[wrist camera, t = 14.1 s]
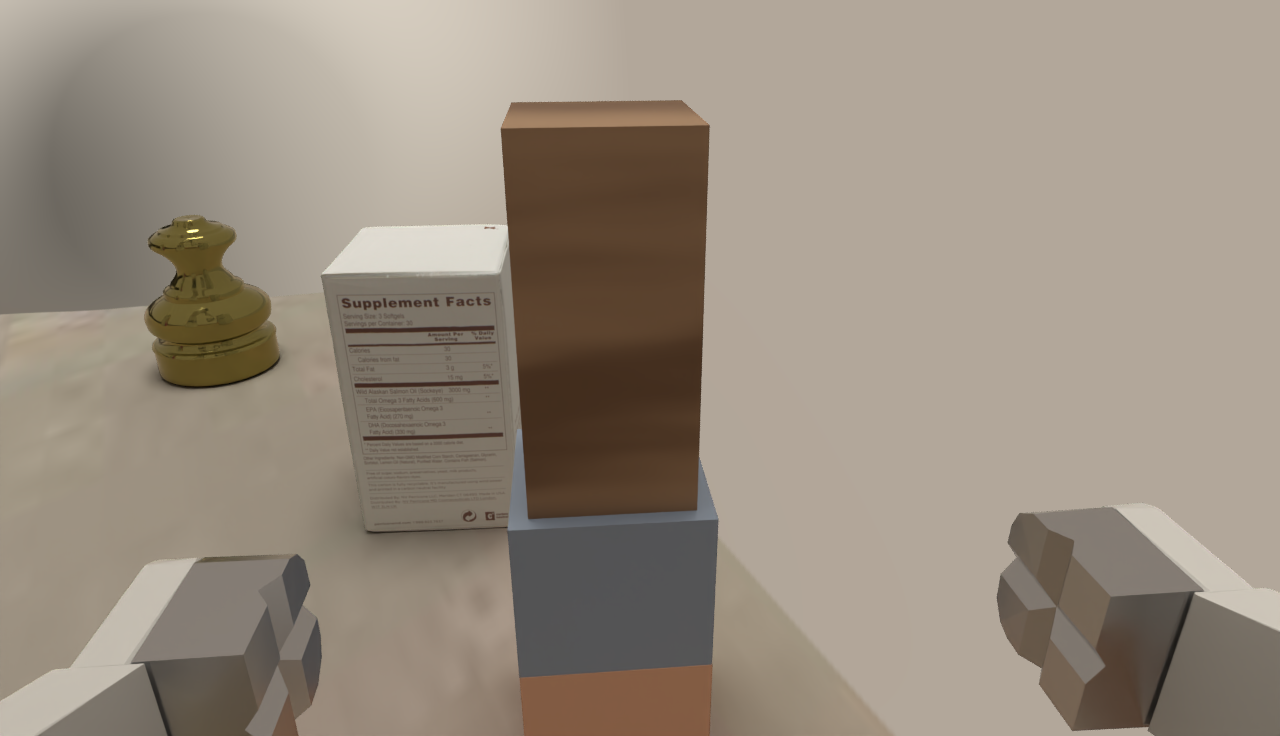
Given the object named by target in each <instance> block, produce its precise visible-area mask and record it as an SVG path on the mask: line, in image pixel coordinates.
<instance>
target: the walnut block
mask: <svg viewBox="0 0 1280 736" xmlns="http://www.w3.org/2000/svg"><path fill="white" fill-rule="evenodd" d="M709 127H710V126H709V124H708V123H706V122H705V121H704V120H703V119H702V118H701V117H700V116H698V115H697V114H696V113H695V112H694V111H693V110H692V109H691V108H689V107H688V106H687V105H686V104H685V103H684V102H683V101H682V100H674V101H601V102H600V101H597V102H517V103H511V105H510V108H509V110H508V113H507V115H506V117H505V120H504V122H503V124H502V127H501V137H502V152H503V167H504V181H505V194H506V210H507V224H508V239H509V253H510V267H511V282H512V296H513V310H514V325H515V339H516V354H517V368H518V382H519V397H520V411H521V426H522V440H523V454H524V469H525V483H526V498H527V512H528V519H542V518H561V517H580V516H599V515H618V514H637V513H656V512H675V511H694V510H697V500H698V469H699V438H700V406H701V404H700V403H701V376H702V345H703V314H704V280H705V251H706V220H707V219H706V218H707V187H708V156H709Z"/></svg>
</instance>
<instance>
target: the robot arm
mask: <svg viewBox="0 0 1280 736" xmlns="http://www.w3.org/2000/svg"><path fill="white" fill-rule="evenodd" d="M1008 544H1009V545H1010V547H1011V549H1012V551H1013V552H1014V554H1015V555H1016V557H1017V558H1016V559H1015V560H1014V561H1013V562H1012V563H1011V564H1010V565H1009V566H1008V567H1007V568H1006V569H1005V570H1004V571H1003V572H1002V573H1001V576H1000V582H999V588H998V593H997V602H998V609H999V616H1000V622H1001V624H1002V627H1003V629H1004V632H1005V634H1006V636H1007V639H1008V640H1009V641H1010V643H1011V644H1012V646H1013V647H1014V649H1015V650H1016V652H1017V653H1018V655H1020V656H1022V657H1024V658H1025V659H1027V660H1028V661H1030V662H1032V663H1034V664H1035V665H1037V666H1039V667H1040V668H1042V669H1041V675H1040V681H1039V685H1040V686H1041V688H1042V689H1043V690H1044V692H1045V693H1046V695H1047V696H1048V697H1049V699H1050V700H1051V701H1052V703H1053V704H1054V706H1055V707H1056V709H1057V710H1058V712H1059V713H1060V714H1061V716H1062V717H1063V718H1064V720H1065V721H1066V723H1067V724H1068V726H1069V727H1070V728H1071V730H1072V731H1081V730H1100V729H1119V728H1139V727H1149V728H1148V731H1149V732H1150V733H1152V734H1153V735H1154V736H1280V593H1279V592H1276V591H1274V590H1272V589H1269V588H1257V589H1254V588H1253V587H1252V586H1250V585H1249V584H1248V583H1247V582H1246V581H1244V580H1243V579H1242V578H1241V577H1240V576H1239V575H1237V574H1236V573H1235V572H1234V571H1233V570H1231V569H1230V568H1229V567H1228V566H1227V565H1225V564H1224V563H1223V562H1222V561H1221V560H1220V559H1218V558H1217V557H1216V556H1215V555H1213V554H1212V553H1211V552H1210V551H1209V550H1208V549H1207V548H1205V547H1204V546H1203V545H1202V544H1200V543H1199V542H1198V541H1197V540H1196V539H1195V538H1193V537H1192V536H1191V535H1190V534H1189V533H1188V532H1186V531H1185V530H1184V529H1183V528H1181V527H1180V526H1179V525H1178V524H1177V523H1176V522H1174V521H1173V520H1172V519H1171V518H1170V517H1169V516H1167V515H1166V514H1165V513H1164V512H1163V511H1161V510H1160V509H1159V508H1157V507H1154V506H1152V505H1149V504H1146V503H1136V504H1126V505H1115V506H1103V507H1101V508H1090V509H1076V510H1061V511H1047V512H1031V513H1020V514H1019V515H1018V516H1017V518H1016V520H1015V521H1014V522H1013V524H1012V526H1011V531H1010V535H1009V539H1008ZM309 587H310V582H309V578H308V574H307V570H306V566H305V562H304V560H303V559H302V558H301V557H300V556H299V555H297V554H284V555H257V556H230V557H205V558H203V559H201V558H185V559H167V560H156V561H153V562H151V563H149V564H147V565H145V566H144V567H143V568H142V569H141V571H140V572H139V573H138V575H137V576H136V578H135V579H134V580H133V582H132V583H131V584H130V586H129V587H128V588H127V590H126V591H125V593H124V594H123V595H122V597H121V598H120V599H119V601H118V602H117V604H116V605H115V606H114V608H113V609H112V610H111V612H110V613H109V614H108V616H107V617H106V619H105V620H104V621H103V623H102V624H101V625H100V627H99V628H98V630H97V631H96V632H95V634H94V635H93V636H92V638H91V639H90V640H89V642H88V643H87V645H86V646H85V647H84V649H83V650H82V651H81V653H80V654H79V655H78V657H77V658H76V660H75V661H74V662H73V664H72V665H71V666H70V668H66V669H53V670H51V671H50V672H48V673H46V674H45V675H43V676H41V677H40V678H38V679H36V680H35V681H33V682H31V683H30V684H28V685H26V686H25V687H23V688H21V689H20V690H18V691H16V692H15V693H13V694H11V695H10V696H8V697H6V698H5V699H3V700H1V701H0V736H298V732H297V727H296V723H295V719H296V718H297V717H299V716H300V715H301V714H302V713H303V712H304V711H306V710H307V709H308V708H309V707H310V706H311V705H312V702H313V698H314V695H315V692H316V689H317V686H318V681H319V673H320V666H321V658H322V655H321V635H320V630H319V625H318V620H317V617H316V616H315V615H313V614H312V613H311V612H310V611H309V610H308V609H306V608H305V607H304V606H303V602H304V600H305V597H306V595H307V592H308V590H309Z"/></svg>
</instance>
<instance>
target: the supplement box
mask: <svg viewBox="0 0 1280 736" xmlns="http://www.w3.org/2000/svg"><path fill="white" fill-rule="evenodd" d="M321 278H322V283H323V289H324V295H325V301H326V307H327V313H328V318H329V324H330V330H331V335H332V340H333V347H334V354H335V360H336V366H337V372H338V378H339V384H340V390H341V396H342V402H343V407H344V413H345V419H346V425H347V430H348V436H349V442H350V447H351V453H352V459H353V465H354V470H355V476H356V481H357V487H358V493H359V498H360V503H361V509H362V515H363V521H364V526H365V529H366V530H368V531H372V532H379V531H416V530H446V529H471V528H494V527H508V521H509V510H510V499H511V489H512V478H513V467H514V456H515V445H516V435H517V429H522V426H521V411H520V397H519V382H518V368H517V354H516V339H515V325H514V310H513V296H512V282H511V267H510V253H509V239H508V225H490V224H489V225H488V224H481V225H440V226H438V225H437V226H393V227H392V226H390V227H368V228H362V229H361V230H360V231H359V233H358V234H357V235H356V236H355V237H354V239H353V240H352V241H351V242H350V243H349V244H348V245H347V246H346V247H345V249H344V250H343V251H342V252H341V253H340V254H339V255H338V256H337V258H336V259H335V260H334V261H333V262H332V263H331V264H330V265H329V266H328V267H327V269H326V270H325V271H324V272H323V273H322V274H321Z"/></svg>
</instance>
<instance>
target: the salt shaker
mask: <svg viewBox="0 0 1280 736" xmlns="http://www.w3.org/2000/svg"><path fill="white" fill-rule="evenodd" d="M236 237H237V235H236V232H235V230H234V229H233V228H232V227H230V226H227V225H225V224H221V223H220V222H217V221H209V220H206V219H205V218H204V217H203V216H200V215H187V216H181V217H177V218H175V219H173V221H172V224H171V225H167V226H164V227H162V228H160V229H159V230H158V231H157V232H155V233H153V234H152V235H151V236H150V237H149V238H148V246H149V248H150V249H151V250H152V251H154V252H156V253H158V254H160V255H162V256H164V257H166V258H167V259H168V260H170V261H171V262H172V263H173V265H174V266H175V268H176V274H175V276H174V278H173V280H172V281H171V283H170V285H168V286H167V287H165V289H164V290H163V295H161V296H160V297H158V298H157V299H155V300H154V301H153V302H152V303H151V304H150V305H149V306H148V307H147V309H146V311H145V314H144V320H145V323H146V326H147V328H148V330H149V331H150V332H151V333H152V334H153V335H154V336H156V337H158V338H157V339H156V340H155V341H154V343H153V345H152V350H153V352H154V353H155V356H156V360H157V364H158V368H159V372H160V375H161V376H162V378H164V379H165V380H167V381H169V382H171V383H174V384H178V385H183V386H196V387H199V386H214V385H222V384H227V383H232V382H236V381H240V380H243V379H247V378H249V377H252V376H255V375H257V374H259V373H261V372H263V371H265V370H267V369H268V368H270V367H271V366H272V365H273V364H274V363H275V362H276V361H277V360H278V358H279V355H280V351H279V347H278V342H277V337H276V327H275V325H274V324H273V323H271V322H270V321H268V320H267V319H268V317H269V316H270V314H271V300H270V298H269V296H268V295H267V293H266V292H264V291H263V290H261V289H260V288H258V287H256V286H253V285H250V284H246V283H244V281H243V280H242V279H241V278H240V277H238V276H234V275H233V274H232V273H231V272H229V271H228V270H226V269H225V268H224V266H223V265H222V258H223V255H224V253H225V251H226V250H227V248H228V247H229V246H230V245H231V244H232V243H233V242H234V241H235V240H236Z"/></svg>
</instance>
